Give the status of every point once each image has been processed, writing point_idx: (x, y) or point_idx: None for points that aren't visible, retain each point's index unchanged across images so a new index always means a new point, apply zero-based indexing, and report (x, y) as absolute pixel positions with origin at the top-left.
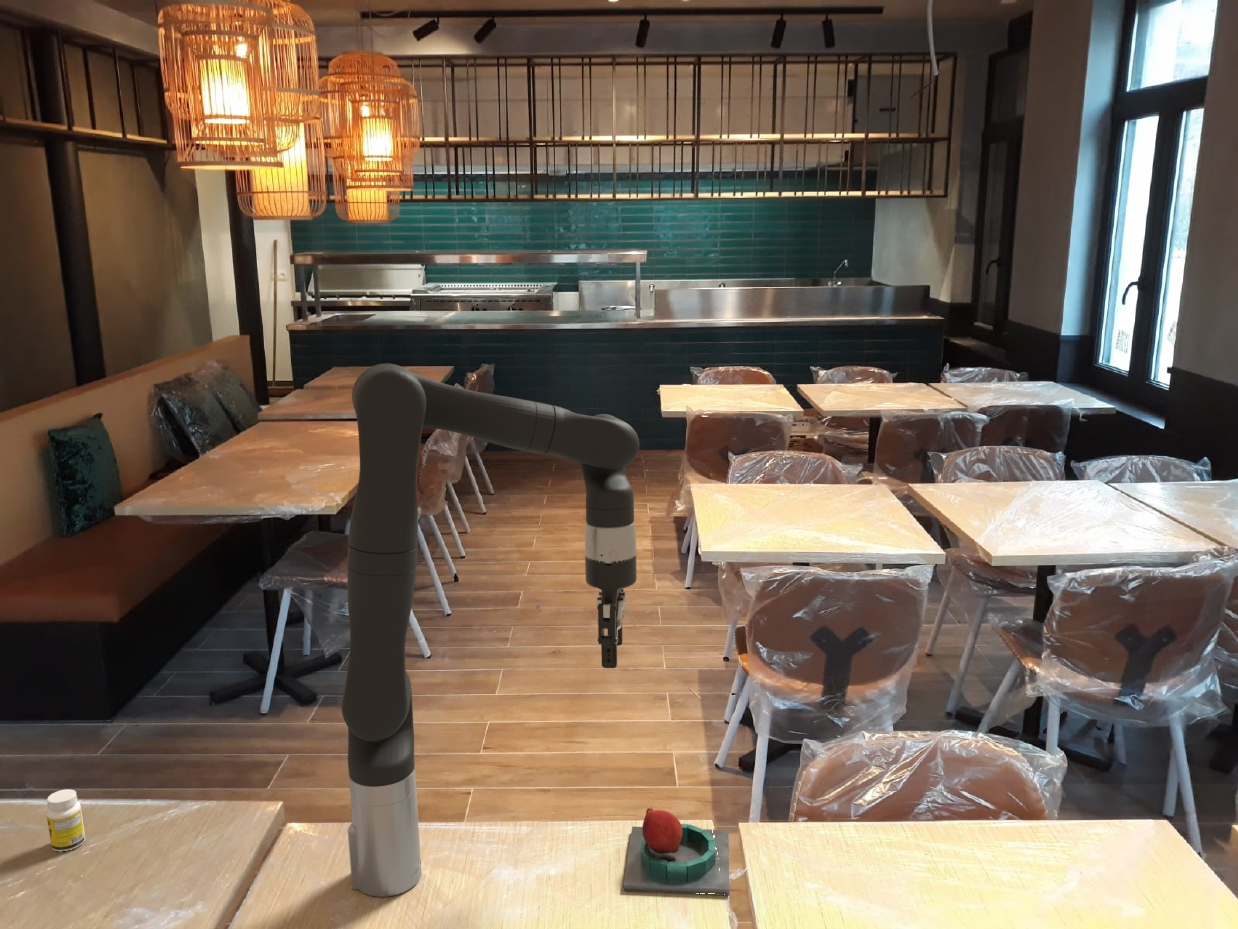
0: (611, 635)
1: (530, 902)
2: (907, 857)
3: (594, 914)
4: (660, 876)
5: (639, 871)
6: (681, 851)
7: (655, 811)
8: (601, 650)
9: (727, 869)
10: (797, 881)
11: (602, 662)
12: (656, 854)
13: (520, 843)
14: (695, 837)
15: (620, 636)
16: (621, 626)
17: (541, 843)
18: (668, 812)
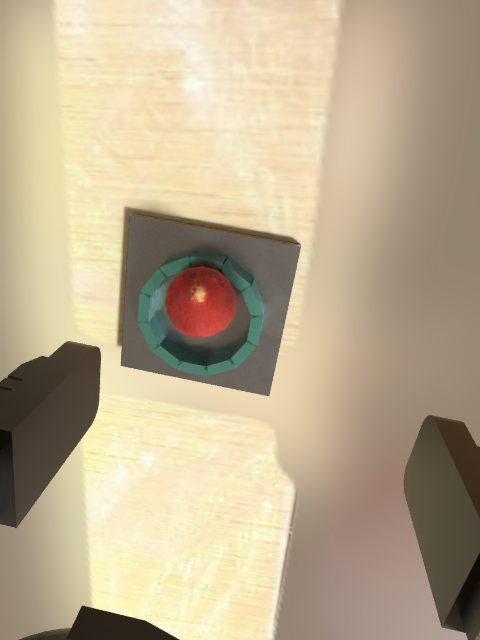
0: (437, 475)
1: (101, 41)
2: (201, 568)
3: (75, 160)
4: (150, 276)
5: (165, 245)
6: None
7: (195, 304)
8: (9, 392)
9: (166, 373)
10: (156, 446)
11: (59, 354)
12: None
13: (292, 6)
14: (238, 347)
15: (415, 520)
16: (434, 594)
17: (286, 57)
18: (202, 326)
